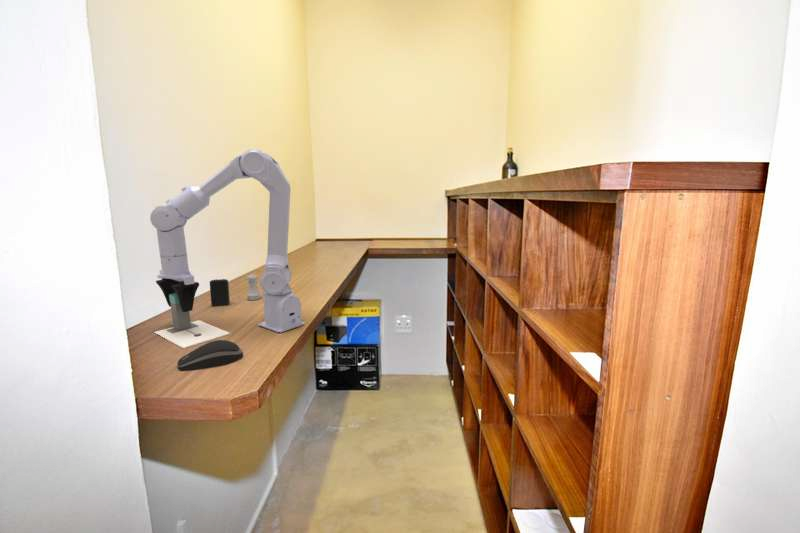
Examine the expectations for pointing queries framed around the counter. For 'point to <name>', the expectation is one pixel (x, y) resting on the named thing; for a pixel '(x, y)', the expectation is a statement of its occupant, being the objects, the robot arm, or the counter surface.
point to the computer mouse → (210, 356)
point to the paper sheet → (192, 334)
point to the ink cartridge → (219, 292)
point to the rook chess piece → (253, 288)
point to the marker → (179, 314)
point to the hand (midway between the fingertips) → (180, 308)
